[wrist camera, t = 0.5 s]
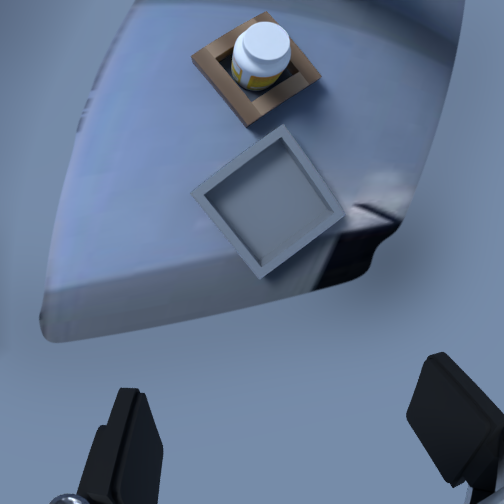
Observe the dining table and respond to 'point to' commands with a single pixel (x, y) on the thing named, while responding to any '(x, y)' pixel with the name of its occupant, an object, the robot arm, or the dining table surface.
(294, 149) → the tray
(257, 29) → the supplement bottle
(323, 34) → the dining table surface
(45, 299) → the dining table surface
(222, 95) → the socket block
